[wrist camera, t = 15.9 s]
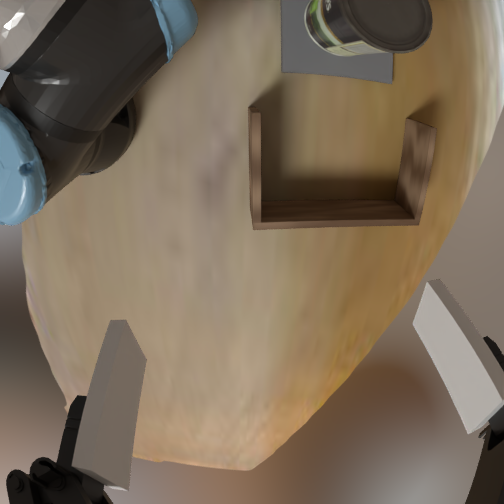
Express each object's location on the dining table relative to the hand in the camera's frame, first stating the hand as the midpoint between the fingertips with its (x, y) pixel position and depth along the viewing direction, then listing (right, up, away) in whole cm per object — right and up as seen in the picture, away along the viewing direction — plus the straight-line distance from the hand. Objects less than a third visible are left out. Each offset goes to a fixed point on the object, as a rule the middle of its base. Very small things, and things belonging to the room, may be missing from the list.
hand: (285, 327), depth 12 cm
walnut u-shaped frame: (+11, +17, +29) cm, 35 cm away
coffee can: (+10, +33, +18) cm, 39 cm away
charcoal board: (+10, +34, +19) cm, 40 cm away
